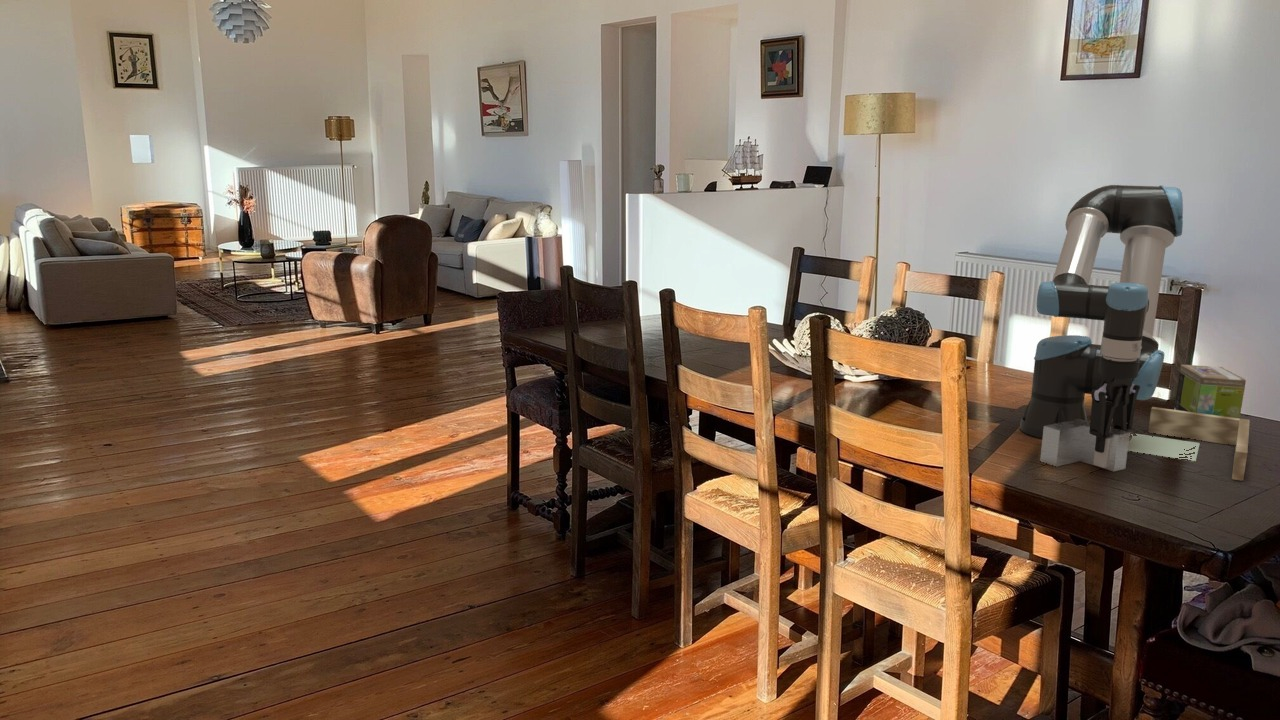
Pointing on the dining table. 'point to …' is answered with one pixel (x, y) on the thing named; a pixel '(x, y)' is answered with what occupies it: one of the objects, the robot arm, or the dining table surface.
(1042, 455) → the bracket
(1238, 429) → the wooden corner fence
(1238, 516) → the dining table surface
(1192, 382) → the tea box
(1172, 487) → the dining table surface
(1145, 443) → the mat
